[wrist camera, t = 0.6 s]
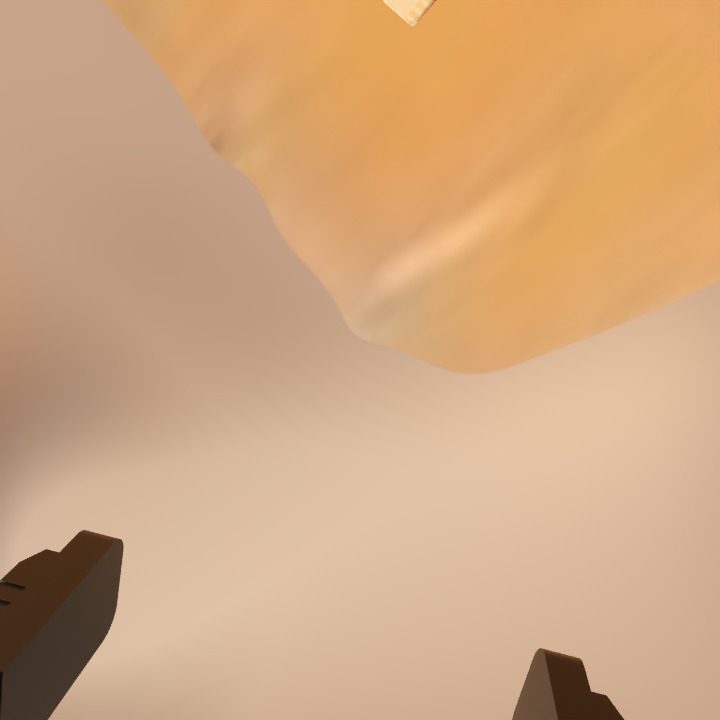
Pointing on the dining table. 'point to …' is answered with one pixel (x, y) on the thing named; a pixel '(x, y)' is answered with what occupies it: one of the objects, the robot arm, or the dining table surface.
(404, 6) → the coffeecake box
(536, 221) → the dining table surface
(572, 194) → the dining table surface
